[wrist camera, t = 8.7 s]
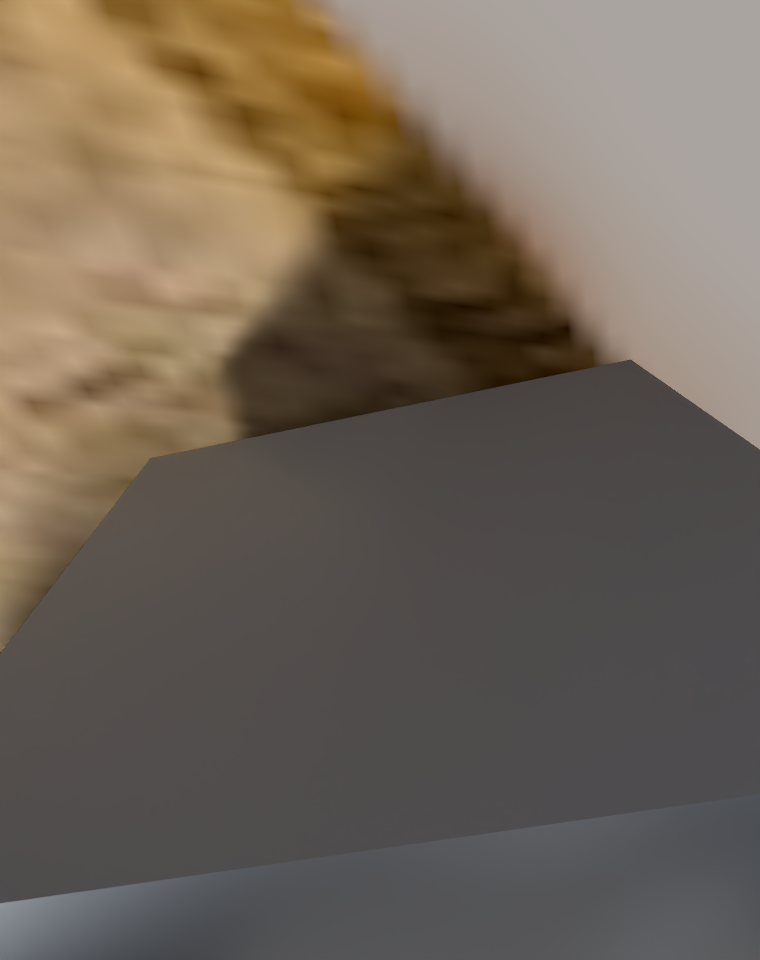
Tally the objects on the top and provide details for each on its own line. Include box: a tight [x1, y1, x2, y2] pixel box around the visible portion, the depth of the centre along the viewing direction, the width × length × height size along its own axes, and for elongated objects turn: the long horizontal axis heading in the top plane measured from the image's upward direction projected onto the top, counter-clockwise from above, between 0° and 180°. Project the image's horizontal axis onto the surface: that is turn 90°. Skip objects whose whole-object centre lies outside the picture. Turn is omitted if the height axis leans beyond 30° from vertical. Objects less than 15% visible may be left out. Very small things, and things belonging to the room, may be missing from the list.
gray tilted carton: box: [0, 360, 760, 960], centre depth 10 cm, size 10×10×9 cm
